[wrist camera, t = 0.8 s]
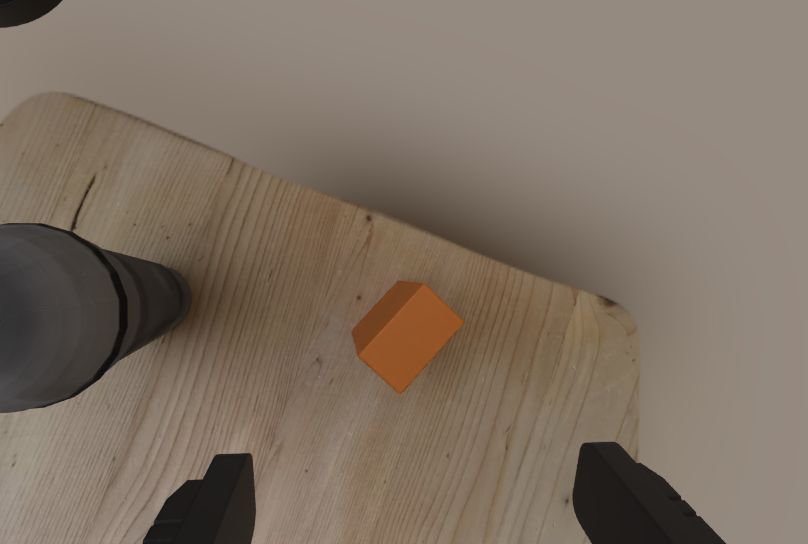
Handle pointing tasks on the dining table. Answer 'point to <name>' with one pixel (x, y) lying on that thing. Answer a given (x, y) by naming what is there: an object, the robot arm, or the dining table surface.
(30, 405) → the beverage cup
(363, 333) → the block
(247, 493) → the robot arm
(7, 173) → the dining table surface
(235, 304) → the dining table surface
